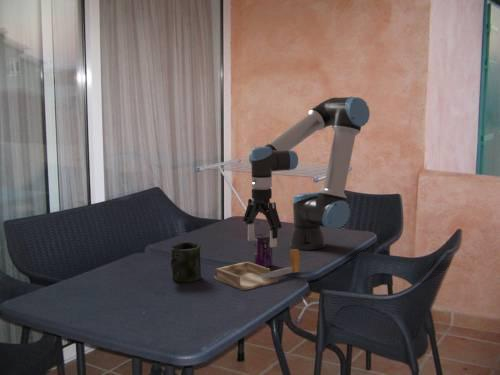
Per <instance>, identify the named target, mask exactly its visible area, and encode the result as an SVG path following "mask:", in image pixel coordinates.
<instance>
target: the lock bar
mask: <svg viewBox="0 0 500 375" xmlns="http://www.w3.org/2000/svg"><path fill="white" fill-rule="evenodd" d="M289 252H290V255H289V256H290V257H289V258H290V266H287V267H283V268H279V269H275V270H270V272H266V273H262V279H263V280H265V279H269V278H277V277H279V276H280V277H281V276H283V275H287V274H292V273H293V274H294V273H299V272H300V249H294V248H291V249H290V250H289Z"/></svg>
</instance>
